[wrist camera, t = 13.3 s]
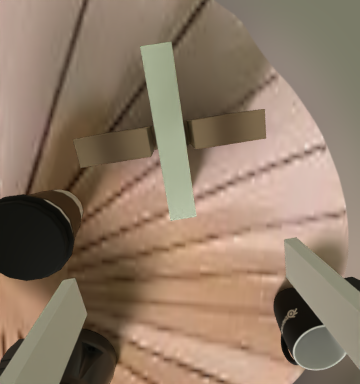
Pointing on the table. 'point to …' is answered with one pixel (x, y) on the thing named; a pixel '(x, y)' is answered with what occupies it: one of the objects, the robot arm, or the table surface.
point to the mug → (304, 333)
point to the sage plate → (169, 128)
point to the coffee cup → (37, 233)
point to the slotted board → (194, 134)
